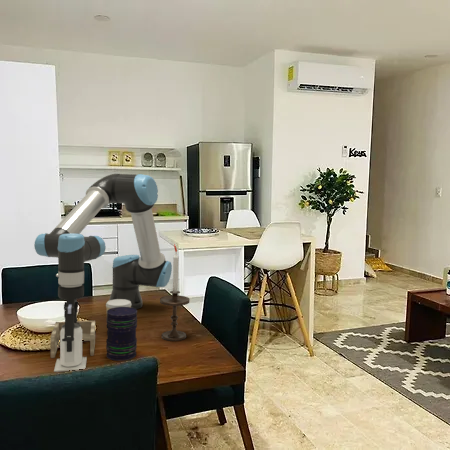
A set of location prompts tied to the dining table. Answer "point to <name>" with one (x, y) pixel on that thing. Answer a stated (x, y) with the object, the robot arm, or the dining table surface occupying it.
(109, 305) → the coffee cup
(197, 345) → the dining table surface
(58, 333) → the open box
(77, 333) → the can
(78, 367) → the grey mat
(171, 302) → the candlestick
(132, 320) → the storage jar
